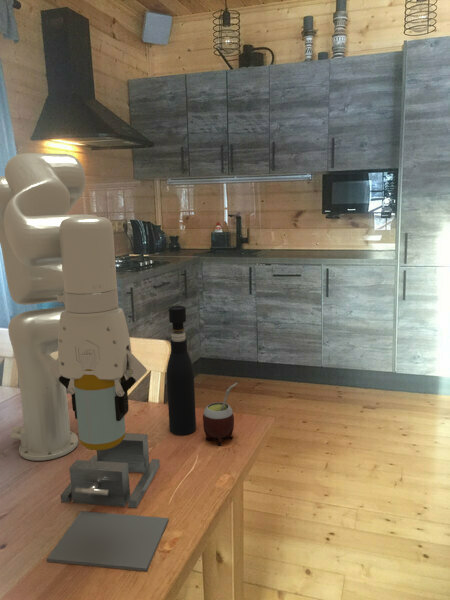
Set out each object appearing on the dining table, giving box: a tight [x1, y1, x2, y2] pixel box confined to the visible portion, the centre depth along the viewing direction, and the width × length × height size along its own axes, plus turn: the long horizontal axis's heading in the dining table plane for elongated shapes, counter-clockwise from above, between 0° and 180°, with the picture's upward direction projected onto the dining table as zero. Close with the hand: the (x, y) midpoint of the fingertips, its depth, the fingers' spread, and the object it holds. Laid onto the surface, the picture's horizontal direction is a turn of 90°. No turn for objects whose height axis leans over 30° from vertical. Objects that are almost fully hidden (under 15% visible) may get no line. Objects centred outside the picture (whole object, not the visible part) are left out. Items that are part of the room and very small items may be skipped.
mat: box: [46, 510, 169, 572], centre depth 81 cm, size 16×12×1 cm
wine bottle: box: [166, 305, 197, 436], centre depth 116 cm, size 6×6×30 cm
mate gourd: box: [202, 382, 239, 447], centre depth 112 cm, size 8×8×15 cm
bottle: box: [74, 354, 126, 451], centre depth 76 cm, size 7×7×15 cm
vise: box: [60, 432, 161, 509], centre depth 96 cm, size 14×17×7 cm
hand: (101, 415), depth 77 cm, fingers closed on bottle, 5 cm apart
